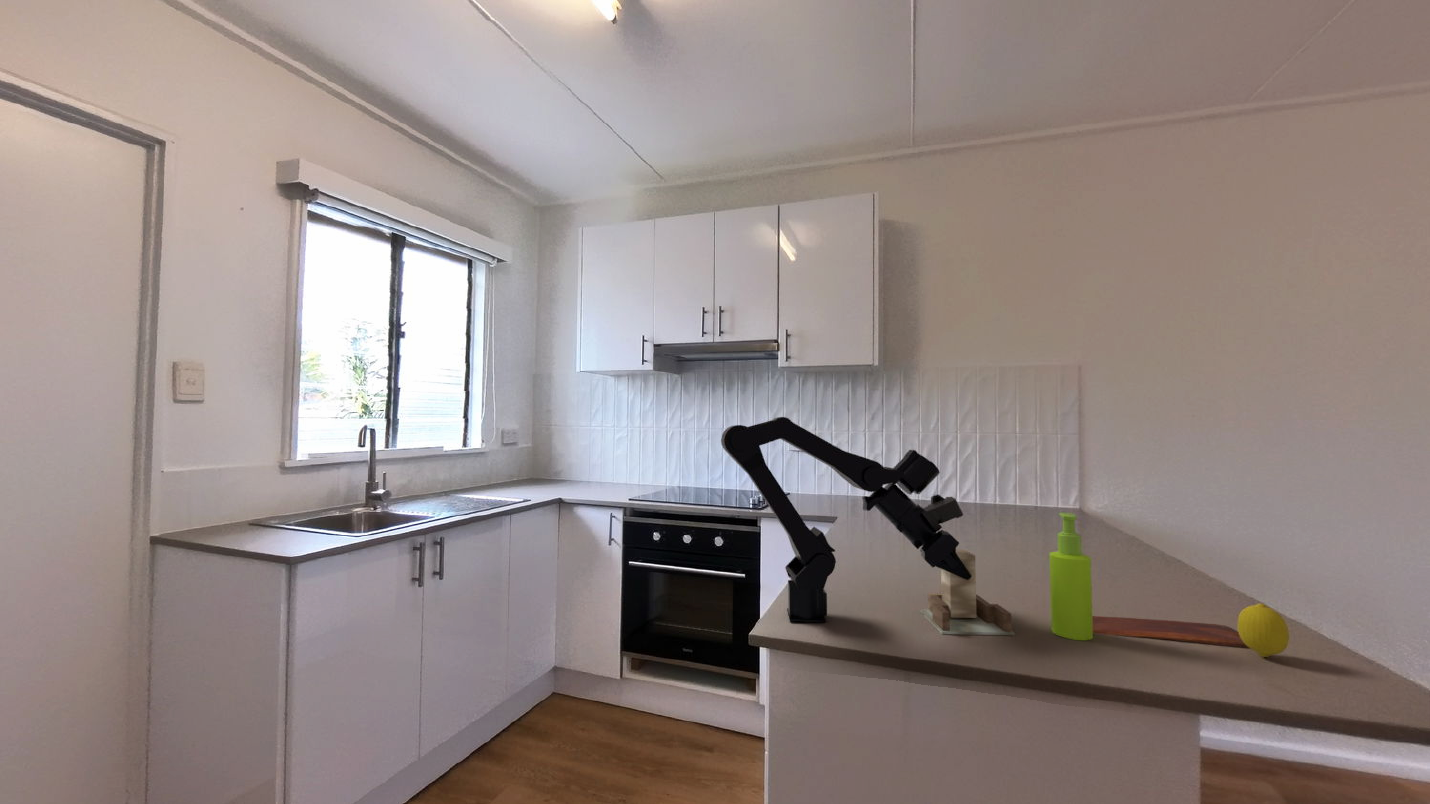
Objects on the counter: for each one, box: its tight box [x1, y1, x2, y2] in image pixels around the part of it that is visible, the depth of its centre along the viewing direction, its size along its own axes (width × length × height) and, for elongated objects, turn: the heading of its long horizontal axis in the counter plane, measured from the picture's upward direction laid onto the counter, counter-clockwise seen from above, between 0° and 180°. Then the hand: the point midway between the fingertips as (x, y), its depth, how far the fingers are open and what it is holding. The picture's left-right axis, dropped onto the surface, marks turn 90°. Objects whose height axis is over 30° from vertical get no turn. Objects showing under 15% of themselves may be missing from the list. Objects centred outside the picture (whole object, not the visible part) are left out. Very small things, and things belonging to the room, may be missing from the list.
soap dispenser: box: [1048, 512, 1094, 641], centre depth 93 cm, size 6×7×20 cm
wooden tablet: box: [1092, 615, 1248, 648], centre depth 94 cm, size 27×10×2 cm, turn 72°
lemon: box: [1237, 602, 1290, 658], centre depth 83 cm, size 6×6×8 cm
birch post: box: [940, 549, 977, 618], centre depth 101 cm, size 4×4×11 cm
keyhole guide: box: [919, 592, 1016, 636], centre depth 98 cm, size 12×12×3 cm
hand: (966, 574), depth 100 cm, fingers closed on birch post, 5 cm apart
